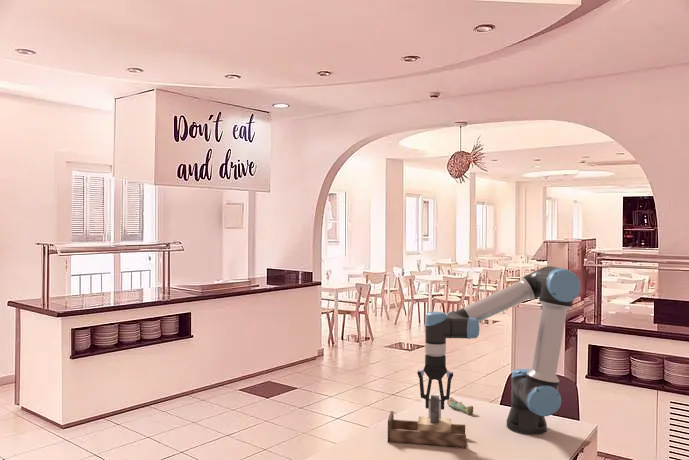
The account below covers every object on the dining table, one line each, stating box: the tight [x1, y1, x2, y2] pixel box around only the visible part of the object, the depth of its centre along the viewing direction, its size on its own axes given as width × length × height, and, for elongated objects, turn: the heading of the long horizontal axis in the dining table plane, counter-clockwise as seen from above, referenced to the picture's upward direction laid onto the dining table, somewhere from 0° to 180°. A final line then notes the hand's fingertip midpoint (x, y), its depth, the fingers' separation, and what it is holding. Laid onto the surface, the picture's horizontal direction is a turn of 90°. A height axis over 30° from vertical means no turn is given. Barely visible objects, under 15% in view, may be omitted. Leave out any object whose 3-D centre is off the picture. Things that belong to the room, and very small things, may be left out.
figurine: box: [446, 396, 474, 416], centre depth 242 cm, size 6×15×4 cm, turn 19°
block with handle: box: [417, 394, 452, 433], centre depth 207 cm, size 12×8×15 cm
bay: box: [387, 410, 467, 450], centre depth 207 cm, size 28×11×8 cm, turn 79°
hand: (434, 417), depth 207 cm, fingers closed on block with handle, 3 cm apart
